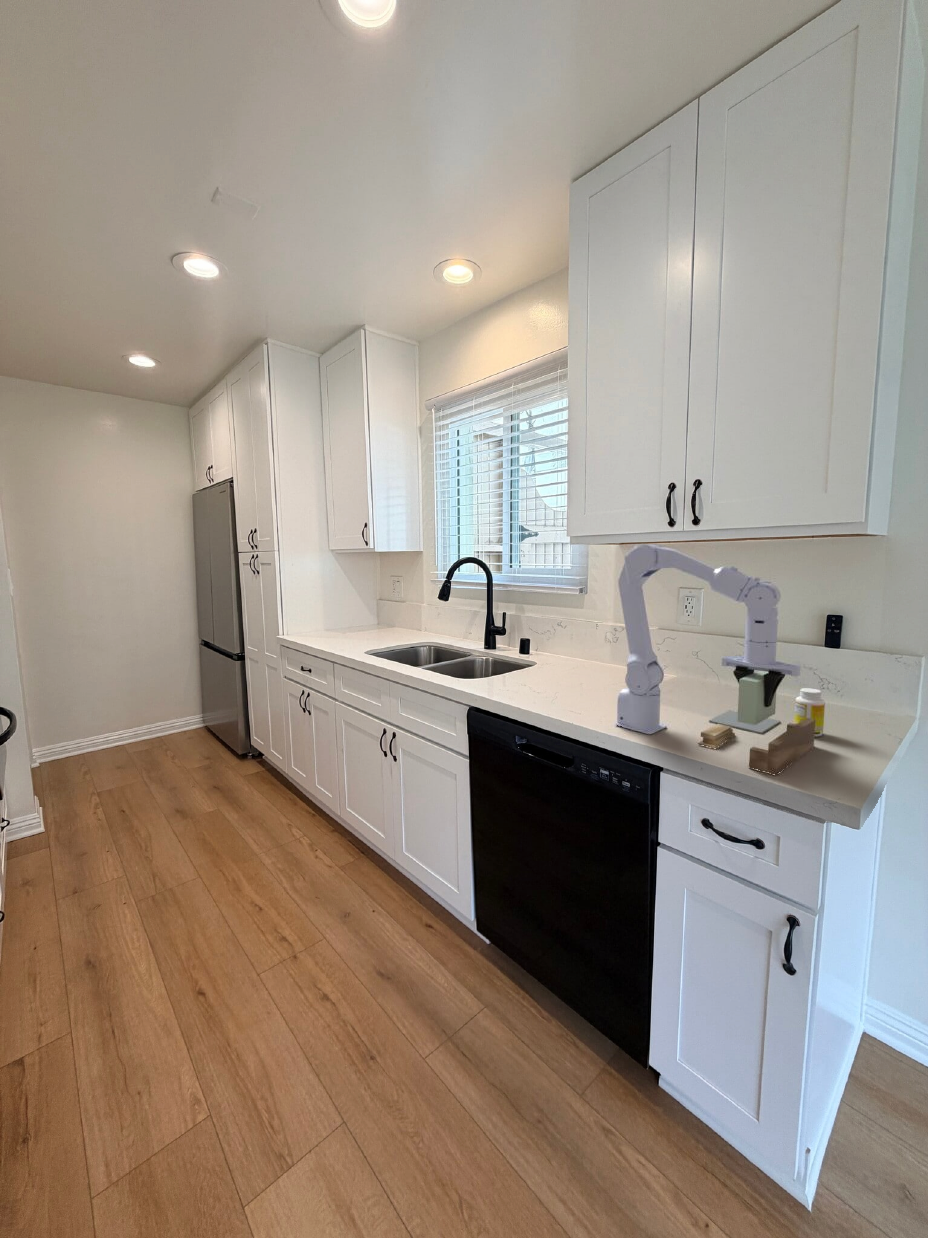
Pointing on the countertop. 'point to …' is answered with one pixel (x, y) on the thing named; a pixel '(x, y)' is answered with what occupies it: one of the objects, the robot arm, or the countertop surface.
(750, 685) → the tall sage green prism
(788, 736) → the walnut rack
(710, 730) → the offcut stack
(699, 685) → the countertop surface
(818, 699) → the supplement bottle
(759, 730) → the slate mat
